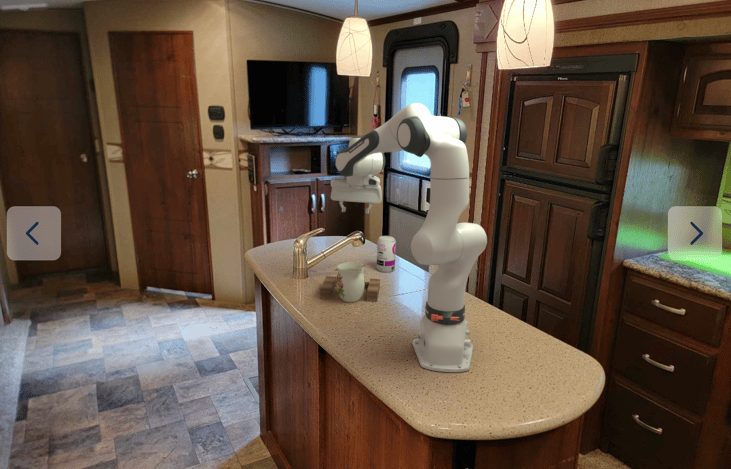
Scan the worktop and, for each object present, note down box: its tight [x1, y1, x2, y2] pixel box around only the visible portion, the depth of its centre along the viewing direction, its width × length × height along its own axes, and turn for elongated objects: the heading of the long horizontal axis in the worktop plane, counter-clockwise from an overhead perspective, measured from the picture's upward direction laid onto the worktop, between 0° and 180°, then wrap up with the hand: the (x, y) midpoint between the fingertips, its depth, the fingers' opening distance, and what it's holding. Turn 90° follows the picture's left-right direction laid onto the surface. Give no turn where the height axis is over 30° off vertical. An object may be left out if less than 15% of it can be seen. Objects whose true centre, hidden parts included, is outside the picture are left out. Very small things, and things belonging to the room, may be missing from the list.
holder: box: [319, 275, 381, 303], centre depth 191 cm, size 14×22×4 cm, turn 84°
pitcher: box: [335, 261, 366, 303], centre depth 186 cm, size 11×18×14 cm, turn 27°
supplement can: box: [376, 235, 397, 273], centre depth 218 cm, size 8×8×15 cm
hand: (355, 212), depth 193 cm, fingers open, 8 cm apart
